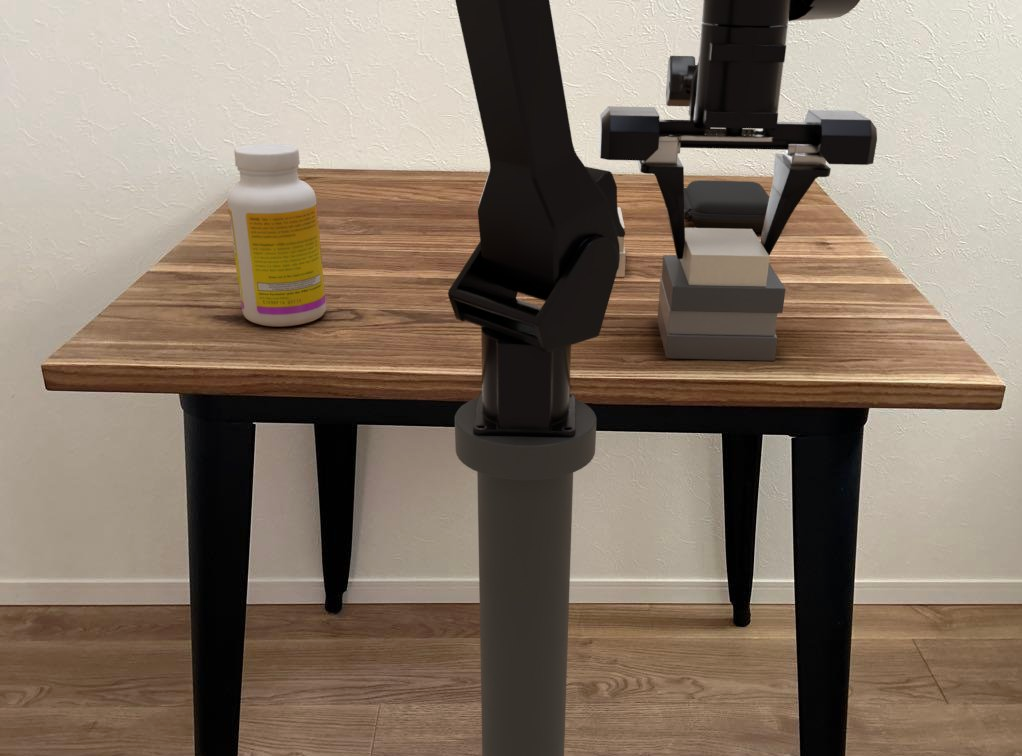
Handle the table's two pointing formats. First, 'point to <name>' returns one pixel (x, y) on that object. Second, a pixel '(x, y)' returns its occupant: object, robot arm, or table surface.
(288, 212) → the supplement bottle
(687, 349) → the grey lidded box
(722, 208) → the carrying case
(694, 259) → the beige rectangular block
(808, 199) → the table surface
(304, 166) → the table surface
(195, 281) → the table surface
